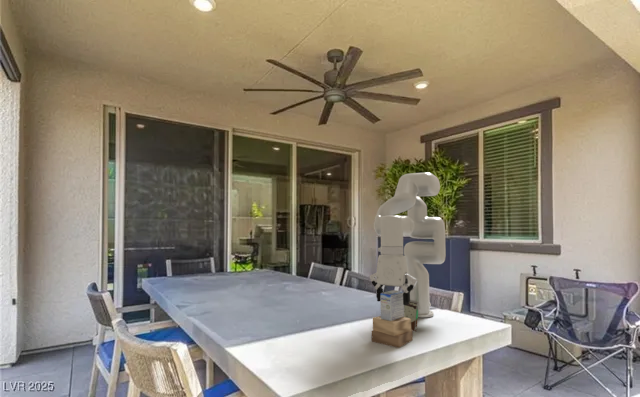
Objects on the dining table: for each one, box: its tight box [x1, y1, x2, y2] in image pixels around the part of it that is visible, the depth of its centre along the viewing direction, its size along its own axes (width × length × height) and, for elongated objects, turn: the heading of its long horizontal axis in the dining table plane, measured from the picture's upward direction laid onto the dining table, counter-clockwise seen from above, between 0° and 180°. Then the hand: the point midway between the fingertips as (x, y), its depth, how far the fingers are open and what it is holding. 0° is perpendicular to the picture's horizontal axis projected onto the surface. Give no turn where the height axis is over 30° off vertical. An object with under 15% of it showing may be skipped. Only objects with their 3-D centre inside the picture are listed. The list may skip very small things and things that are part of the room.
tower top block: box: [372, 315, 411, 336], centre depth 121 cm, size 9×9×4 cm
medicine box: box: [380, 289, 404, 321], centre depth 121 cm, size 8×4×9 cm, turn 135°
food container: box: [404, 300, 420, 332], centre depth 137 cm, size 12×6×10 cm, turn 47°
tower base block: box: [371, 329, 414, 349], centre depth 121 cm, size 10×10×4 cm
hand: (392, 302), depth 121 cm, fingers open, 9 cm apart
